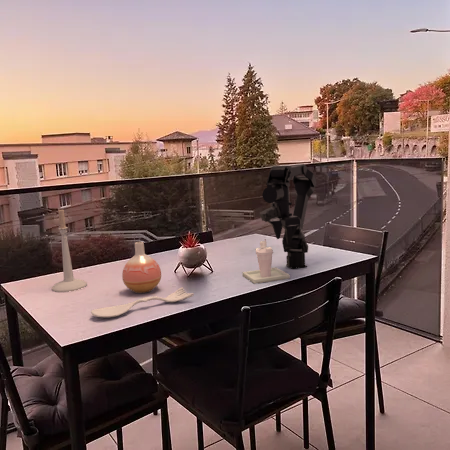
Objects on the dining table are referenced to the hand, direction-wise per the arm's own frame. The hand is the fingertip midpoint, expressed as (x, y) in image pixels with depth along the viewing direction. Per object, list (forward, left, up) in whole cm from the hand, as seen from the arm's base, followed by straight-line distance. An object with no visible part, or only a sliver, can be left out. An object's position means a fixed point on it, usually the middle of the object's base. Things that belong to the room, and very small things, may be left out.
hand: (283, 240), depth 174 cm
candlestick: (+78, -25, -13) cm, 83 cm away
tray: (+8, 0, -13) cm, 15 cm away
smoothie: (+8, 0, -13) cm, 15 cm away
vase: (+53, -6, -13) cm, 55 cm away
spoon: (+56, +13, -14) cm, 59 cm away
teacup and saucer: (-8, -44, -14) cm, 46 cm away
